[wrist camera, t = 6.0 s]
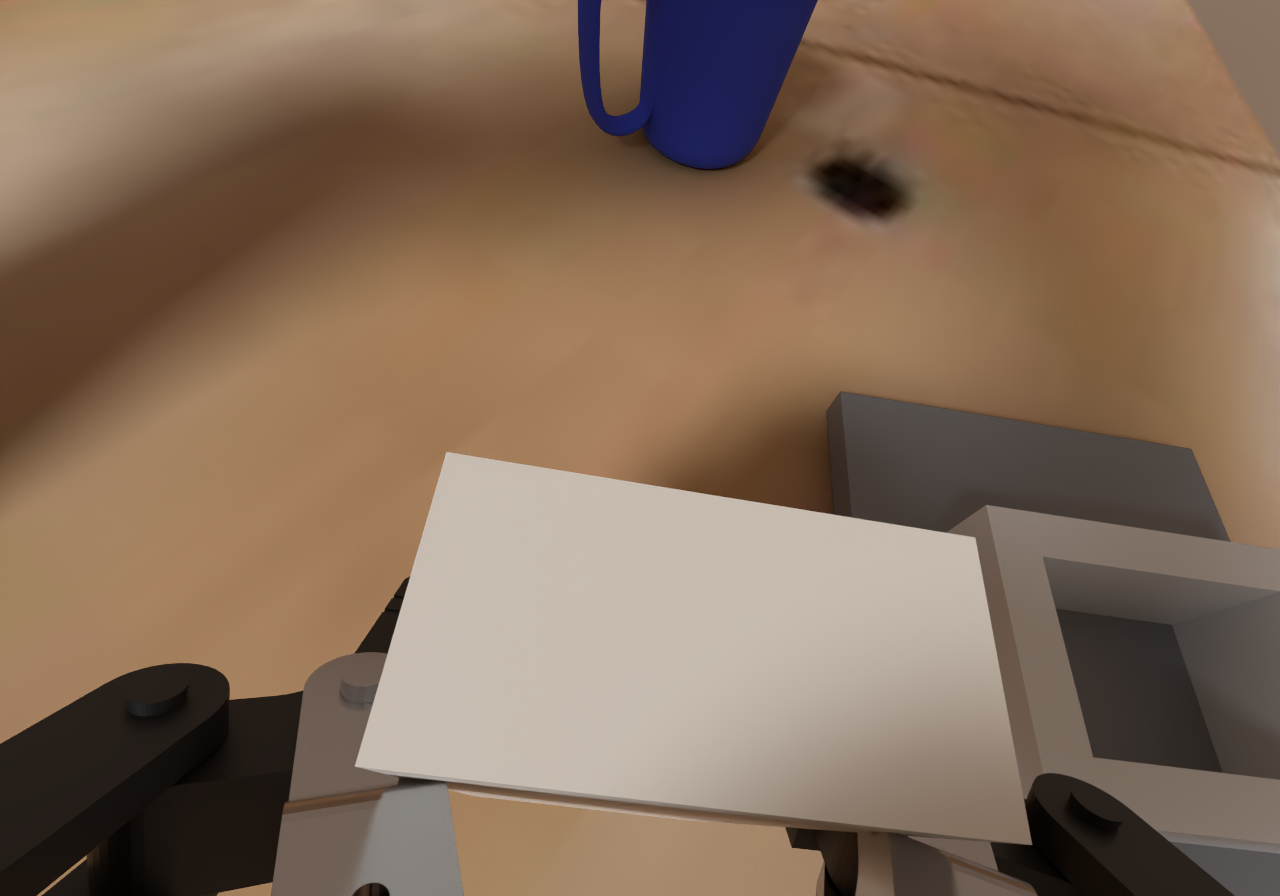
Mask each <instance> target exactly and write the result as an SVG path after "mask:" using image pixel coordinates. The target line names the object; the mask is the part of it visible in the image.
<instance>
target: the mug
mask: <svg viewBox="0 0 1280 896" xmlns="http://www.w3.org/2000/svg"><path fill="white" fill-rule="evenodd" d="M817 1H818V0H647V3H646V17H645V32H644V46H643V61H642V75H641V90H640V103H639V105H638V106H637V107H636V108H635V109H634V110H633V111H631V112H629V113H627V114H624V115H620V116H611V115H609V114H607V113H606V111H605V109H604V106H603V102H602V96H601V88H600V71H599V39H600V8H601V0H578V35H579V59H580V70H581V80H582V86H583V92H584V97H585V101H586V105H587V108H588V111H589V113H590V115H591V117H592V118H593V120H594V121H595V123H596V124H597V125H598V126H599V128H600V129H602V130H603V131H604V132H605V133H608V134H610V135H613V136H624V135H628V134H631V133H633V132H635V131H637V130H639V129H640V128H641V127H642V128H643V130H644V133H645V135H646V137H647V138H648V140H649V142H650V143H651V144H652V145H653V146H654V148H655V149H657V150H658V151H659V152H660V153H661V154H663V155H664V156H666V157H667V158H669V159H671V160H673V161H675V162H678V163H680V164H683V165H686V166H690V167H695V168H702V169H716V168H723V167H727V166H730V165H733V164H735V163H737V162H739V161H740V160H742V159H743V158H744V157H746V156H747V155H748V154H749V153H750V151H751V150H752V149H753V147H754V146H755V145H756V143H757V141H758V139H759V138H760V136H761V133H762V131H763V129H764V127H765V124H766V122H767V119H768V117H769V115H770V112H771V110H772V108H773V105H774V103H775V100H776V98H777V96H778V93H779V91H780V89H781V86H782V84H783V81H784V79H785V77H786V74H787V72H788V70H789V67H790V65H791V62H792V60H793V58H794V55H795V53H796V51H797V48H798V46H799V43H800V41H801V39H802V36H803V34H804V32H805V29H806V27H807V24H808V22H809V20H810V17H811V15H812V13H813V10H814V8H815V5H816V3H817Z"/></svg>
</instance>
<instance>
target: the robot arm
mask: <svg viewBox="0 0 1280 896" xmlns="http://www.w3.org/2000/svg"><path fill="white" fill-rule="evenodd" d="M409 579H410V577H408V578H406V579H405V580H404V581H403V583H402V584H401V586H400V587H399V589H398V590H397V592H396V593H395V595H394V598H392V599H391V600H390V602H389V603H388V605H387V606H386V608H385V611H384V612H382V614H381V615H380V617H379V618H378V620H377V621H376V623H375V624H374V626H373V627H372V628H371V630H370V631H369V633H368V634H367V636H366V637H365V639H364V640H363V642H362V643H361V645H360V646H359V648H358V649H357V651H356V652H355V654H351V655H346V656H343V657H339V658H336V659H334V660H332V661H329V662H327V663H326V664H324V665H322V666H320V667H319V668H318V669H317V670H315V671H314V672H313V673H312V674H311V675H310V676H309V678H308V680H307V681H306V683H305V686H304V690H303V691H300V692H296V693H291V694H287V695H279V696H270V697H258V698H247V699H235V700H229V694H230V689H229V682H228V680H227V678H226V677H225V676H224V675H223V674H222V673H221V672H219V671H217V670H216V669H213V668H211V667H208V666H203V665H199V664H190V663H175V664H164V665H158V666H152V667H148V668H144V669H140V670H137V671H133V672H130V673H127V674H125V675H123V676H120V677H118V678H116V679H114V680H112V681H110V682H108V683H106V684H104V685H102V686H101V687H99V688H97V689H95V690H94V691H92V692H90V693H88V694H87V695H85V696H83V697H81V698H80V699H78V700H76V701H74V702H73V703H71V704H69V705H67V706H66V707H64V708H62V709H60V710H59V711H57V712H55V713H53V714H52V715H50V716H48V717H47V718H45V719H43V720H41V721H40V722H38V723H36V724H34V725H33V726H31V727H29V728H27V729H26V730H24V731H22V732H20V733H19V734H17V735H15V736H13V737H12V738H10V739H8V740H6V741H5V742H3V743H1V744H0V896H37V895H38V894H39V893H40V892H41V891H43V890H44V889H45V888H46V887H48V886H49V885H50V884H51V883H53V882H54V881H55V880H56V879H57V878H59V877H60V876H61V875H62V874H64V873H65V872H66V871H67V870H69V869H70V868H71V867H72V866H74V865H75V864H76V863H77V862H78V861H80V860H81V859H82V858H83V857H85V856H86V855H87V859H86V860H85V861H84V862H82V863H81V864H80V865H79V866H78V867H76V868H75V869H74V870H73V871H71V872H70V873H69V874H68V875H67V876H65V877H64V878H63V879H62V880H60V881H59V882H58V883H57V884H56V885H54V886H53V887H52V888H51V889H49V890H48V891H47V892H46V893H45V894H43V895H42V896H217V894H218V893H219V892H224V891H229V890H234V889H240V888H245V887H250V886H255V885H260V884H265V883H271V882H273V884H272V891H271V896H464V895H463V888H462V881H461V875H460V868H459V861H458V855H457V848H456V841H455V834H454V828H453V821H452V814H451V807H450V801H449V794H448V789H447V785H446V782H445V781H439V780H427V781H425V780H416V779H408V778H399V777H395V776H391V775H387V774H383V773H379V772H375V771H371V770H367V769H363V768H359V767H355V764H356V760H357V757H358V754H359V750H360V747H361V743H362V740H363V737H364V733H365V730H366V726H367V723H368V719H369V716H370V713H371V709H372V706H373V702H374V699H375V695H376V692H377V689H378V685H379V682H380V678H381V675H382V672H383V668H384V665H385V661H386V658H387V654H388V651H389V648H390V644H391V641H392V637H393V634H394V630H395V627H396V624H397V620H398V617H399V613H400V610H401V607H402V603H403V600H404V596H405V593H406V589H407V586H408V583H409ZM1024 803H1025V809H1026V814H1027V820H1028V825H1029V830H1030V836H1031V841H1032V845H1024V844H1011V843H997V842H983V841H969V840H955V839H942V838H928V837H914V836H904V835H901V834H898V833H891V832H878V833H877V832H845V831H831V830H817V829H804V828H793V827H785V828H786V831H787V834H788V837H789V840H790V843H791V846H792V848H800V849H809V850H818V851H821V853H822V856H823V859H824V862H823V865H822V868H821V871H820V874H819V878H818V881H817V886H816V896H1235V895H1234V894H1232V893H1231V892H1230V891H1229V890H1227V889H1226V888H1225V887H1224V886H1223V885H1221V884H1220V883H1219V882H1218V881H1217V880H1215V879H1214V878H1213V877H1212V876H1211V875H1209V874H1208V873H1207V872H1206V871H1204V870H1203V869H1202V868H1201V867H1200V866H1198V865H1197V864H1196V863H1195V862H1194V861H1192V860H1191V859H1190V858H1189V857H1188V856H1186V855H1185V854H1184V853H1183V852H1181V851H1180V850H1179V849H1178V848H1177V847H1175V846H1174V845H1173V844H1172V843H1171V842H1169V841H1168V840H1167V839H1166V838H1165V837H1163V836H1162V835H1161V834H1160V833H1159V832H1157V831H1156V830H1155V829H1154V828H1152V827H1151V826H1150V825H1149V824H1148V823H1146V822H1145V821H1144V820H1143V819H1142V818H1140V817H1139V816H1138V815H1137V814H1136V813H1134V812H1133V811H1132V810H1131V809H1129V808H1128V807H1127V806H1126V805H1124V804H1123V803H1122V802H1120V801H1119V800H1117V799H1116V798H1114V797H1113V796H1111V795H1110V794H1108V793H1106V792H1105V791H1103V790H1101V789H1099V788H1097V787H1095V786H1093V785H1091V784H1089V783H1087V782H1084V781H1082V780H1080V779H1077V778H1074V777H1071V776H1067V775H1063V774H1057V773H1045V774H1041V775H1039V776H1037V777H1036V778H1035V779H1034V781H1033V784H1032V786H1031V789H1030V791H1029V794H1028V796H1027V799H1024Z"/></svg>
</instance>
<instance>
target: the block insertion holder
mask: <svg viewBox="0 0 1280 896" xmlns="http://www.w3.org/2000/svg"><path fill="white" fill-rule="evenodd" d="M826 412H827V425H828V439H829V452H830V465H831V479H832V492H833V505H834V515H839V516H845V517H851V518H858V519H864V520H870V521H876V522H882V523H889V524H895V525H901V526H907V527H913V528H920V529H926V530H932V531H938V532H944V533H951V534H957V535H963V536H969V537H975V539H976V544H977V549H978V555H979V560H980V566H981V571H982V576H983V582H984V587H985V593H986V598H987V603H988V609H989V614H990V620H991V625H992V630H993V636H994V641H995V647H996V652H997V657H998V663H999V668H1000V674H1001V679H1002V684H1003V690H1004V695H1005V701H1006V706H1007V711H1008V717H1009V722H1010V728H1011V733H1012V738H1013V744H1014V749H1015V755H1016V760H1017V766H1018V771H1019V776H1020V782H1021V787H1022V793H1023V798H1024V799H1027V796H1028V794H1029V791H1030V789H1031V786H1032V784H1033V781H1034V779H1035V778H1036V777H1037V776H1039V775H1041V774H1045V773H1057V774H1063V775H1067V776H1071V777H1074V778H1077V779H1080V780H1082V781H1084V782H1087V783H1089V784H1091V785H1093V786H1095V787H1097V788H1099V789H1101V790H1103V791H1105V792H1106V793H1108V794H1110V795H1111V796H1113V797H1114V798H1116V799H1117V800H1119V801H1120V802H1122V803H1123V804H1124V805H1126V806H1127V807H1128V808H1129V809H1131V810H1132V811H1133V812H1134V813H1136V814H1137V815H1138V816H1139V817H1140V818H1142V819H1143V820H1144V821H1145V822H1146V823H1148V824H1149V825H1150V826H1151V827H1152V828H1154V829H1155V830H1156V831H1157V832H1159V833H1160V834H1161V835H1162V836H1163V837H1165V838H1166V839H1167V840H1168V841H1169V842H1171V843H1172V844H1173V845H1174V846H1175V847H1177V848H1178V849H1179V850H1180V851H1181V852H1183V853H1184V854H1185V855H1186V856H1188V857H1189V858H1190V859H1191V860H1192V861H1194V862H1195V863H1196V864H1197V865H1198V866H1200V867H1201V868H1202V869H1203V870H1204V871H1206V872H1207V873H1208V874H1209V875H1211V876H1212V877H1213V878H1214V879H1215V880H1217V881H1218V882H1219V883H1220V884H1221V885H1223V886H1224V887H1225V888H1226V889H1227V890H1229V891H1230V892H1231V893H1232V894H1234V895H1235V896H1280V549H1274V548H1267V547H1261V546H1254V545H1248V544H1241V543H1234V542H1230V540H1229V537H1228V535H1227V533H1226V530H1225V528H1224V525H1223V523H1222V521H1221V518H1220V516H1219V514H1218V511H1217V509H1216V506H1215V504H1214V502H1213V499H1212V497H1211V494H1210V492H1209V490H1208V487H1207V485H1206V483H1205V480H1204V478H1203V475H1202V473H1201V471H1200V468H1199V466H1198V463H1197V461H1196V459H1195V456H1194V454H1193V452H1192V449H1189V448H1183V447H1177V446H1170V445H1164V444H1158V443H1152V442H1146V441H1140V440H1134V439H1128V438H1121V437H1115V436H1109V435H1103V434H1097V433H1091V432H1085V431H1078V430H1072V429H1066V428H1060V427H1054V426H1048V425H1042V424H1036V423H1029V422H1023V421H1017V420H1011V419H1005V418H999V417H993V416H987V415H980V414H974V413H968V412H962V411H956V410H950V409H944V408H938V407H931V406H925V405H919V404H913V403H907V402H901V401H895V400H888V399H882V398H876V397H870V396H864V395H858V394H852V393H846V392H840V393H839V395H838V396H837V397H836V399H835V400H834V402H833V403H832V404H831V406H830V407H829V408H828V410H827V411H826Z"/></svg>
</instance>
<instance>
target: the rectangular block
mask: <svg viewBox="0 0 1280 896" xmlns="http://www.w3.org/2000/svg"><path fill="white" fill-rule="evenodd" d="M355 767H359V768H363V769H367V770H371V771H375V772H379V773H383V774H387V775H391V776H395V777H399V778H408V779H416V780H425V781H427V780H439V781H445V782H446V785H447V789H448V790H451V791H456V792H460V793H464V794H468V795H472V796H479V797H488V798H496V799H505V800H514V801H523V802H532V803H540V804H549V805H558V806H567V807H576V808H584V809H593V810H602V811H611V812H620V813H628V814H637V815H646V816H655V817H664V818H672V819H681V820H693V821H707V822H721V823H735V824H748V825H762V826H776V827H793V828H804V829H817V830H831V831H845V832H877V833H878V832H891V833H898V834H901V835H904V836H914V837H928V838H942V839H955V840H969V841H983V842H997V843H1011V844H1024V845H1032V841H1031V836H1030V830H1029V825H1028V820H1027V814H1026V809H1025V803H1024V798H1023V793H1022V787H1021V782H1020V776H1019V771H1018V766H1017V760H1016V755H1015V749H1014V744H1013V738H1012V733H1011V728H1010V722H1009V717H1008V711H1007V706H1006V701H1005V695H1004V690H1003V684H1002V679H1001V674H1000V668H999V663H998V657H997V652H996V647H995V641H994V636H993V630H992V625H991V620H990V614H989V609H988V603H987V598H986V593H985V587H984V582H983V576H982V571H981V566H980V560H979V555H978V549H977V544H976V539H975V537H969V536H963V535H957V534H951V533H944V532H938V531H932V530H926V529H920V528H913V527H907V526H901V525H895V524H889V523H882V522H876V521H870V520H864V519H858V518H851V517H845V516H839V515H833V514H827V513H820V512H814V511H808V510H802V509H796V508H789V507H783V506H777V505H771V504H765V503H758V502H752V501H746V500H740V499H734V498H727V497H721V496H715V495H709V494H703V493H696V492H690V491H684V490H678V489H672V488H665V487H659V486H653V485H647V484H641V483H634V482H628V481H622V480H616V479H610V478H604V477H597V476H591V475H585V474H579V473H573V472H566V471H560V470H554V469H548V468H542V467H535V466H529V465H523V464H517V463H511V462H504V461H498V460H492V459H486V458H480V457H473V456H467V455H461V454H455V453H449V452H447V453H446V456H445V459H444V463H443V466H442V470H441V473H440V477H439V480H438V483H437V487H436V490H435V494H434V497H433V501H432V504H431V507H430V511H429V514H428V518H427V521H426V524H425V528H424V531H423V535H422V538H421V542H420V545H419V548H418V552H417V555H416V559H415V562H414V565H413V569H412V572H411V576H410V579H409V583H408V586H407V589H406V593H405V596H404V600H403V603H402V607H401V610H400V613H399V617H398V620H397V624H396V627H395V630H394V634H393V637H392V641H391V644H390V648H389V651H388V654H387V658H386V661H385V665H384V668H383V672H382V675H381V678H380V682H379V685H378V689H377V692H376V695H375V699H374V702H373V706H372V709H371V713H370V716H369V719H368V723H367V726H366V730H365V733H364V737H363V740H362V743H361V747H360V750H359V754H358V757H357V760H356V764H355Z"/></svg>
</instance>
